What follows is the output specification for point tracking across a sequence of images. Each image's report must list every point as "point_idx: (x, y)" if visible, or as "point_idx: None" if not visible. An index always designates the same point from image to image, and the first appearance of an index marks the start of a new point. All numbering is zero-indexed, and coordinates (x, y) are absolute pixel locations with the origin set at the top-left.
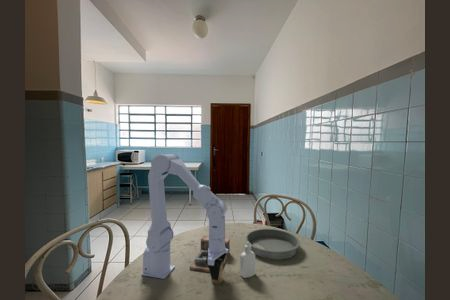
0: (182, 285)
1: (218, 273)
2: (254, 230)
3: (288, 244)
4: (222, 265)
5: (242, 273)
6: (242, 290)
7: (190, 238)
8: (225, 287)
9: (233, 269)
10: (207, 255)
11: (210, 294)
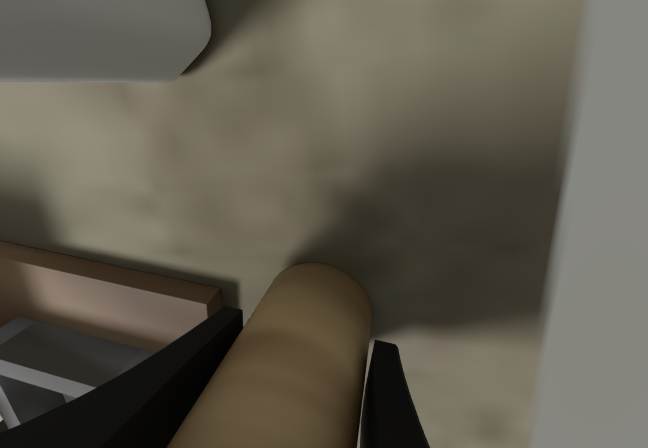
0: None
1: (418, 422)
2: None
3: None
4: (258, 413)
5: (179, 37)
6: (471, 13)
7: None
8: (416, 231)
9: (110, 169)
10: (53, 397)
11: (526, 353)
